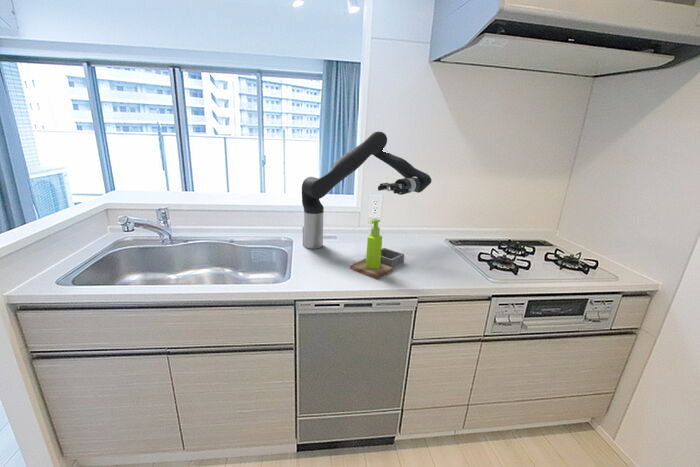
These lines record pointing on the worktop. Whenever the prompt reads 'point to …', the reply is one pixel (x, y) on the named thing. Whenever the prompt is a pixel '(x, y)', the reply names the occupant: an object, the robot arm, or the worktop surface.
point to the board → (373, 273)
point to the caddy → (391, 257)
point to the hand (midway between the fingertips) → (386, 189)
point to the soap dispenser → (374, 246)
